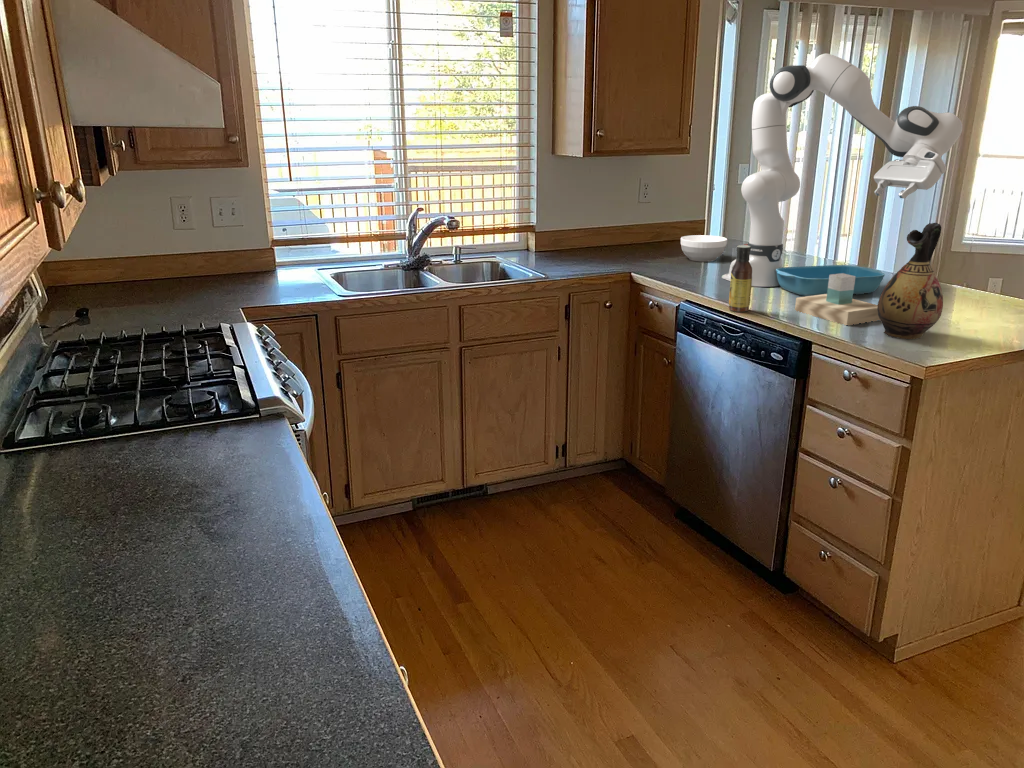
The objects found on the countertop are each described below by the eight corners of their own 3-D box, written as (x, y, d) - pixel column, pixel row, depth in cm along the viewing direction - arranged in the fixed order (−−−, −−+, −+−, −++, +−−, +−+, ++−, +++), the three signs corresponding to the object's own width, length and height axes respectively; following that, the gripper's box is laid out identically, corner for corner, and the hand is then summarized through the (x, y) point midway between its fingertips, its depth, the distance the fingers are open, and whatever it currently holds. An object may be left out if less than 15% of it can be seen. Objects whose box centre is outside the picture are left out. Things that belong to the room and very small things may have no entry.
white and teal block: (826, 301, 225) (829, 274, 223) (839, 299, 227) (842, 273, 224) (838, 304, 221) (842, 277, 218) (851, 303, 223) (855, 276, 220)
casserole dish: (853, 281, 272) (855, 261, 270) (896, 294, 252) (899, 273, 249) (761, 287, 264) (763, 267, 262) (797, 301, 244) (800, 279, 241)
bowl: (671, 257, 322) (672, 236, 319) (709, 254, 328) (711, 234, 325) (694, 264, 305) (695, 242, 302) (734, 261, 311) (736, 240, 308)
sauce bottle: (733, 306, 237) (738, 243, 230) (752, 309, 233) (758, 245, 226) (724, 310, 232) (729, 246, 225) (743, 313, 228) (750, 248, 222)
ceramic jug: (918, 346, 194) (939, 229, 184) (862, 333, 206) (879, 222, 196) (951, 335, 203) (972, 223, 194) (895, 324, 215) (912, 217, 205)
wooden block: (794, 310, 231) (796, 297, 230) (828, 305, 237) (830, 293, 235) (846, 325, 214) (848, 312, 213) (882, 320, 219) (884, 306, 218)
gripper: (887, 152, 235) (858, 185, 236) (943, 154, 217) (911, 190, 217) (896, 166, 238) (867, 199, 238) (952, 170, 220) (920, 206, 220)
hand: (888, 195), depth 228 cm, fingers open, 8 cm apart
